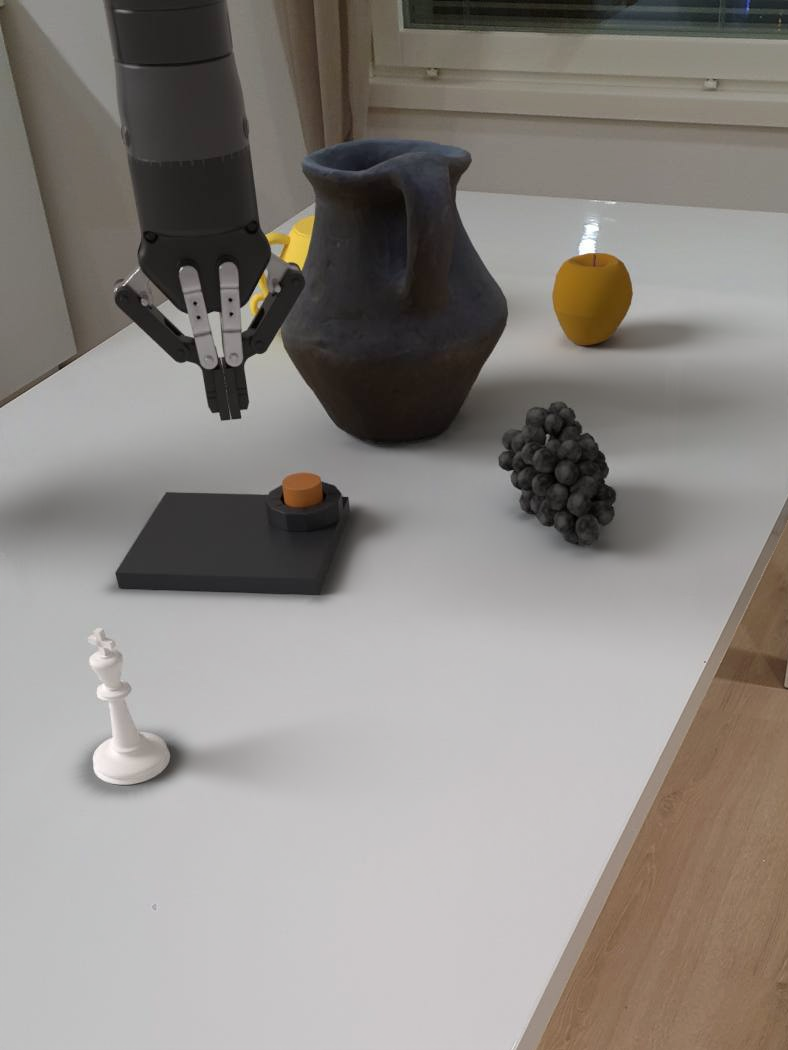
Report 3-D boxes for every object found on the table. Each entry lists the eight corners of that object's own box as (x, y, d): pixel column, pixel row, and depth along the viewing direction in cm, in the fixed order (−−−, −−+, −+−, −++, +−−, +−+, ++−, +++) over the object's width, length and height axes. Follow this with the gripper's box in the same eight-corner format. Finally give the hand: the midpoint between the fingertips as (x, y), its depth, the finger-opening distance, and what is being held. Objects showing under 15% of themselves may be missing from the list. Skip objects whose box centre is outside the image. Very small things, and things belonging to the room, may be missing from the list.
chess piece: (140, 792, 82) (106, 659, 75) (78, 774, 83) (39, 641, 77) (185, 750, 85) (156, 618, 78) (124, 732, 87) (91, 602, 80)
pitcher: (454, 368, 134) (444, 96, 117) (551, 446, 119) (556, 146, 103) (266, 406, 128) (228, 123, 111) (344, 493, 113) (313, 182, 96)
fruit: (622, 452, 96) (568, 374, 107) (520, 497, 97) (477, 415, 108) (649, 546, 102) (595, 462, 113) (553, 587, 103) (509, 501, 114)
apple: (617, 359, 135) (622, 271, 129) (540, 351, 137) (541, 264, 131) (638, 332, 141) (643, 246, 135) (564, 324, 143) (566, 239, 137)
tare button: (280, 509, 105) (278, 489, 104) (289, 491, 107) (286, 471, 106) (319, 510, 105) (317, 490, 104) (326, 492, 107) (324, 472, 106)
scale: (118, 588, 101) (110, 553, 99) (168, 506, 112) (162, 474, 110) (318, 594, 100) (314, 560, 98) (350, 511, 110) (347, 478, 108)
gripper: (287, 118, 82) (316, 385, 94) (76, 134, 80) (132, 406, 92) (302, 145, 77) (331, 426, 88) (76, 164, 75) (136, 448, 86)
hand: (229, 415), depth 90 cm, fingers closed
